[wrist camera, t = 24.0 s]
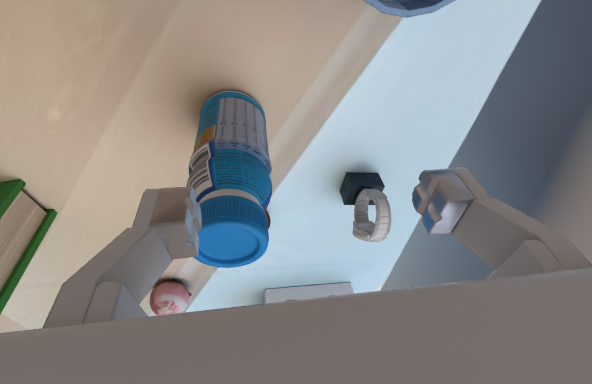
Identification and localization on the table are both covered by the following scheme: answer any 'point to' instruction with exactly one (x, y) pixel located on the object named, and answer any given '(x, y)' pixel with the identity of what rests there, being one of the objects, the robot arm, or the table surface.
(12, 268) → the hardback book
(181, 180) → the table surface
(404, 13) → the bowl
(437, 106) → the table surface
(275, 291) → the gable box
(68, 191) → the table surface
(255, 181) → the beverage bottle
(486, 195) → the robot arm
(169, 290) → the onion
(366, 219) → the watch
